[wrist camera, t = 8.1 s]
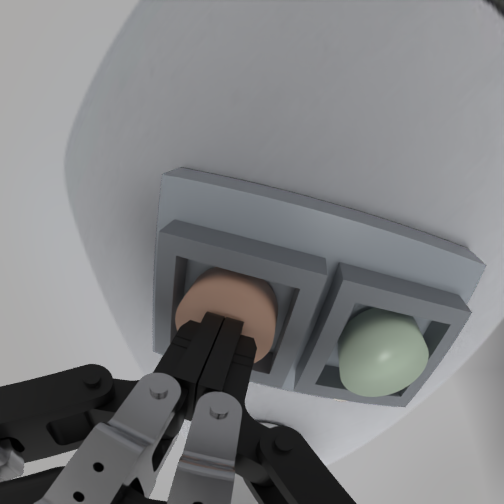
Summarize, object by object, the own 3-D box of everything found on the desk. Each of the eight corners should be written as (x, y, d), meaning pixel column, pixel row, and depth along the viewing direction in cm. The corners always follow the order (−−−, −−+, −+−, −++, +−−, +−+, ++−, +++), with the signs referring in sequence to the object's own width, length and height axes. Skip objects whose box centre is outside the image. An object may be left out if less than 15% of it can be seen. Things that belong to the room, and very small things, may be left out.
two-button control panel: (180, 167, 13) (144, 181, 10) (468, 248, 12) (501, 280, 9) (165, 330, 17) (141, 368, 14) (391, 384, 16) (400, 425, 13)
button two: (194, 254, 12) (178, 275, 11) (288, 280, 12) (285, 304, 10) (186, 327, 14) (173, 350, 12) (266, 349, 14) (261, 376, 12)
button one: (356, 297, 12) (363, 322, 10) (432, 315, 12) (444, 339, 10) (325, 363, 13) (325, 390, 12) (394, 375, 13) (400, 400, 12)
